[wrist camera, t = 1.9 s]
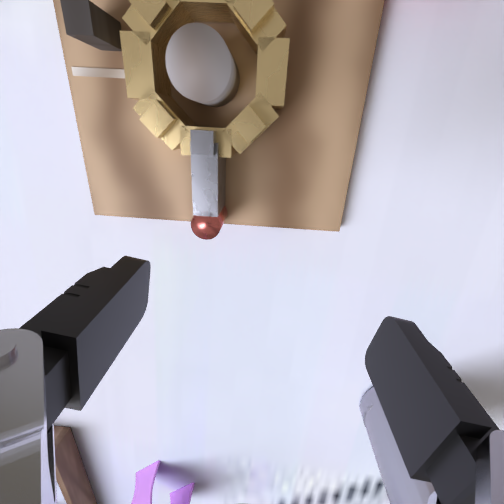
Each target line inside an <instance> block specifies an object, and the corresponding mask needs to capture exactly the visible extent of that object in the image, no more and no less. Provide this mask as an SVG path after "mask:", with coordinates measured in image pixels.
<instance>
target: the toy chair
mask: <svg viewBox="0 0 504 504" xmlns="http://www.w3.org/2000/svg"><path fill="white" fill-rule="evenodd" d="M159 464H160V461H159V460H158V461H156V462H155V463H153V464H151V465H149V466H147V467H145V468H144V469H142V470H140V471H138V472H136V485H135V492H134V497H133V500H132V503H131V504H152V489H153V484H154V480H155V476H156V473H157V470H158V467H159ZM194 484H195V483H191V484H188V485H186V486H184V487H182V488H180V489H178V490H176V491H174V492H172V493H170V500H171V504H190V500H191V496H192V492H193V488H194Z"/></svg>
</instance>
